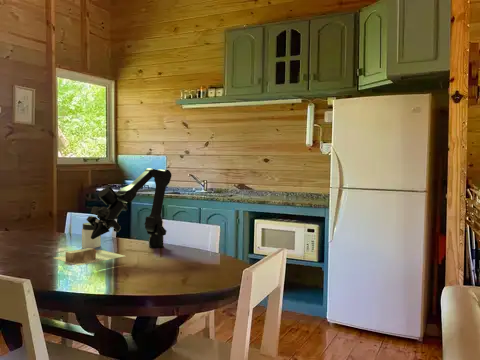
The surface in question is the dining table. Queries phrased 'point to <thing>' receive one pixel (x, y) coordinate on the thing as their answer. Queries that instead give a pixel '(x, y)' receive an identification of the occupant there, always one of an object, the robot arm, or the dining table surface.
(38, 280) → the dining table surface
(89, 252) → the block
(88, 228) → the jar
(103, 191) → the robot arm
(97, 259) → the board
